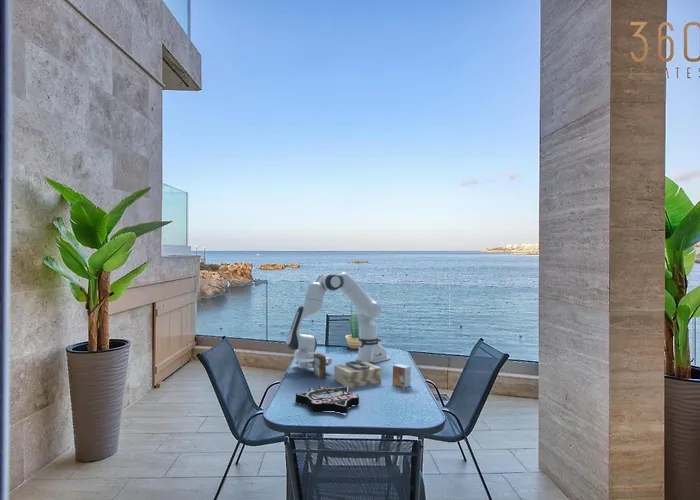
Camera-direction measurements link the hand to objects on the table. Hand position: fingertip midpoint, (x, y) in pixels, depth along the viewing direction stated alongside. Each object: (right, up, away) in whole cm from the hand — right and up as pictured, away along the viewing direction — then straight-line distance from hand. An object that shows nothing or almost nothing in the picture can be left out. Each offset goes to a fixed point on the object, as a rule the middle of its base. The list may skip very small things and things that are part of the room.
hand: (320, 365), depth 245 cm
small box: (+44, -7, -14) cm, 47 cm away
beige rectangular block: (+21, -7, -8) cm, 23 cm away
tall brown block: (-1, -7, +1) cm, 7 cm away
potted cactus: (+21, -7, +77) cm, 80 cm away
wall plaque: (+8, -7, -43) cm, 44 cm away
